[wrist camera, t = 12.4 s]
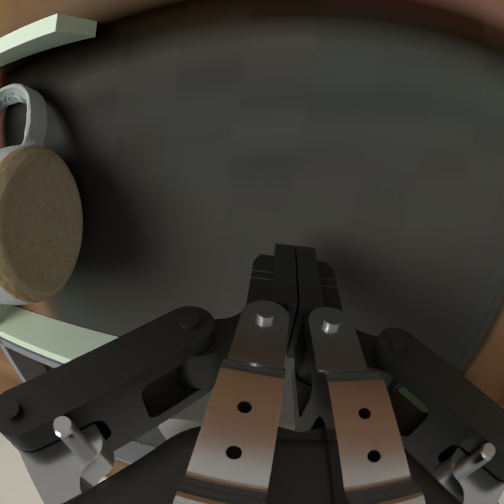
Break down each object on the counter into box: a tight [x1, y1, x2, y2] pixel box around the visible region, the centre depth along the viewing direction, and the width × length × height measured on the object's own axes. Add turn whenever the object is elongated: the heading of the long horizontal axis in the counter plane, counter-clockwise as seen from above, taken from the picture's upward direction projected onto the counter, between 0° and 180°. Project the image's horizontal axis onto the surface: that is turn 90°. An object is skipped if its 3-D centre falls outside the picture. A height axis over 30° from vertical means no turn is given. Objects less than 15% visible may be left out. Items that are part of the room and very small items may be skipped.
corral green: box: [0, 14, 118, 363], centre depth 13 cm, size 12×20×3 cm, turn 175°
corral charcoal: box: [0, 336, 156, 464], centre depth 23 cm, size 12×20×3 cm, turn 175°
